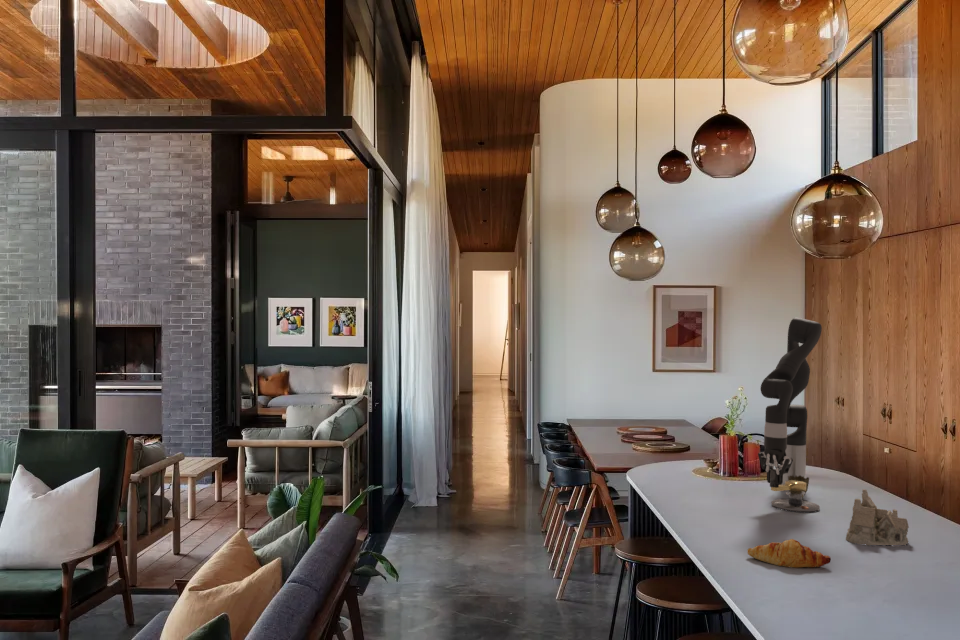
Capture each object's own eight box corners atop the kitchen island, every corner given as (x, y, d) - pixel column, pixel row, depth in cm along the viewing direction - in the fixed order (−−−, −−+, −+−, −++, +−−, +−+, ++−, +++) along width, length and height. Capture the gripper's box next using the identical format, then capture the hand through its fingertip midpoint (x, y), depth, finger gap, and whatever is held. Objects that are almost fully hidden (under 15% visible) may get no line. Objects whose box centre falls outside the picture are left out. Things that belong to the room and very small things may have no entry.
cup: (813, 499, 286) (813, 478, 286) (798, 500, 283) (798, 479, 283) (798, 495, 293) (798, 474, 293) (783, 496, 290) (783, 475, 290)
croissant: (746, 573, 209) (745, 551, 206) (748, 547, 217) (747, 526, 214) (831, 582, 201) (831, 560, 198) (829, 555, 209) (829, 533, 206)
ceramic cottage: (838, 539, 232) (843, 490, 231) (860, 532, 242) (865, 485, 242) (892, 554, 220) (897, 503, 220) (913, 546, 231) (918, 497, 230)
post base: (763, 502, 280) (763, 485, 280) (804, 501, 282) (804, 485, 282) (785, 512, 264) (786, 495, 264) (828, 512, 266) (829, 495, 266)
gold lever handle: (795, 486, 278) (795, 465, 278) (810, 490, 271) (810, 469, 271) (763, 489, 272) (763, 468, 272) (778, 493, 265) (778, 471, 265)
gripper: (799, 437, 265) (798, 486, 265) (766, 431, 277) (765, 478, 277) (784, 439, 261) (783, 489, 261) (752, 432, 273) (751, 480, 274)
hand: (774, 483), depth 269 cm, fingers closed on gold lever handle, 3 cm apart
